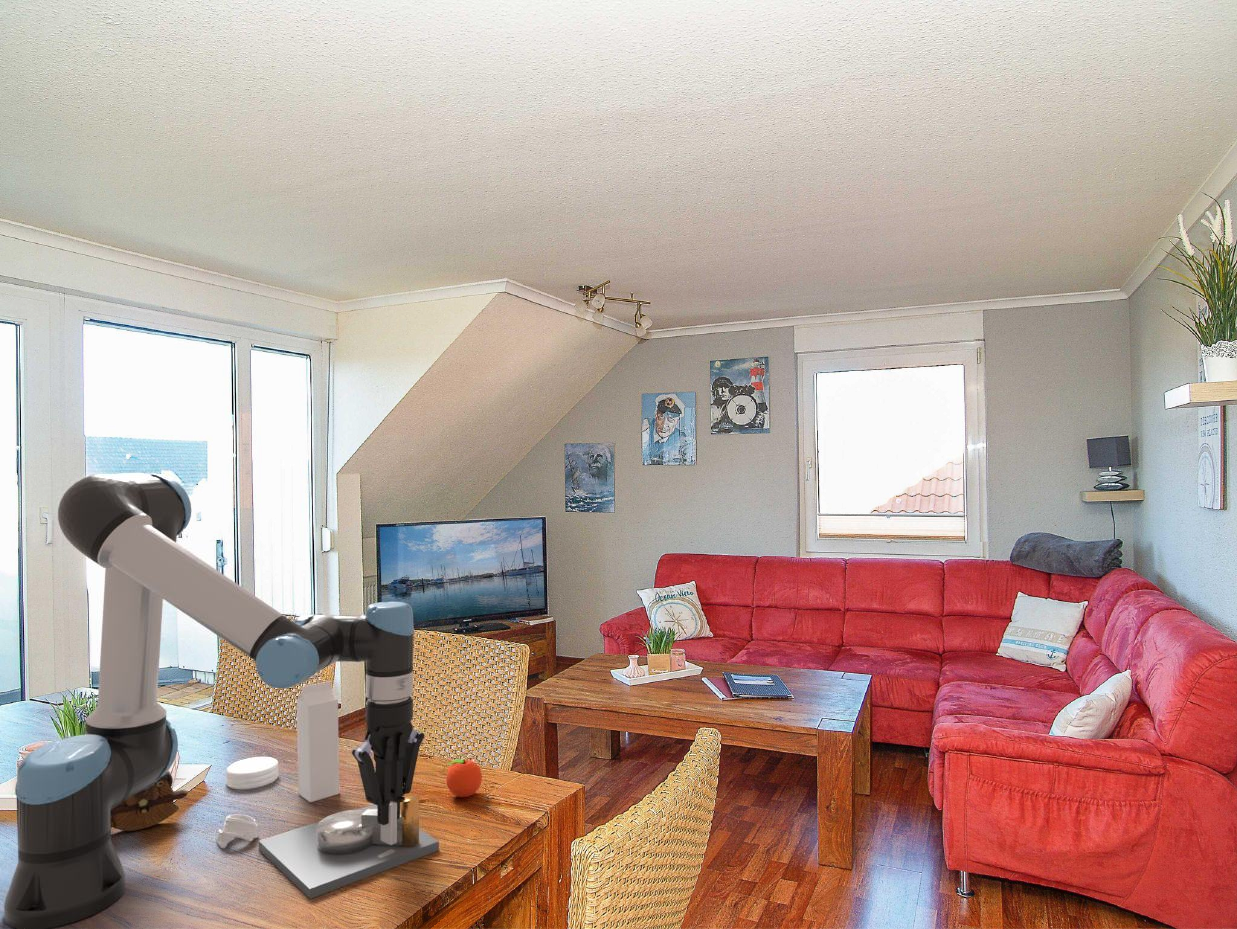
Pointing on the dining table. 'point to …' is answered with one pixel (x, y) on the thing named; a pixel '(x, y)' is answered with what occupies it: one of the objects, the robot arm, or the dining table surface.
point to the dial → (366, 829)
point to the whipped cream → (237, 829)
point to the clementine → (463, 778)
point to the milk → (317, 742)
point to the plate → (335, 859)
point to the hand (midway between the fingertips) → (388, 841)
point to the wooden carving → (147, 806)
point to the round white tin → (252, 773)
